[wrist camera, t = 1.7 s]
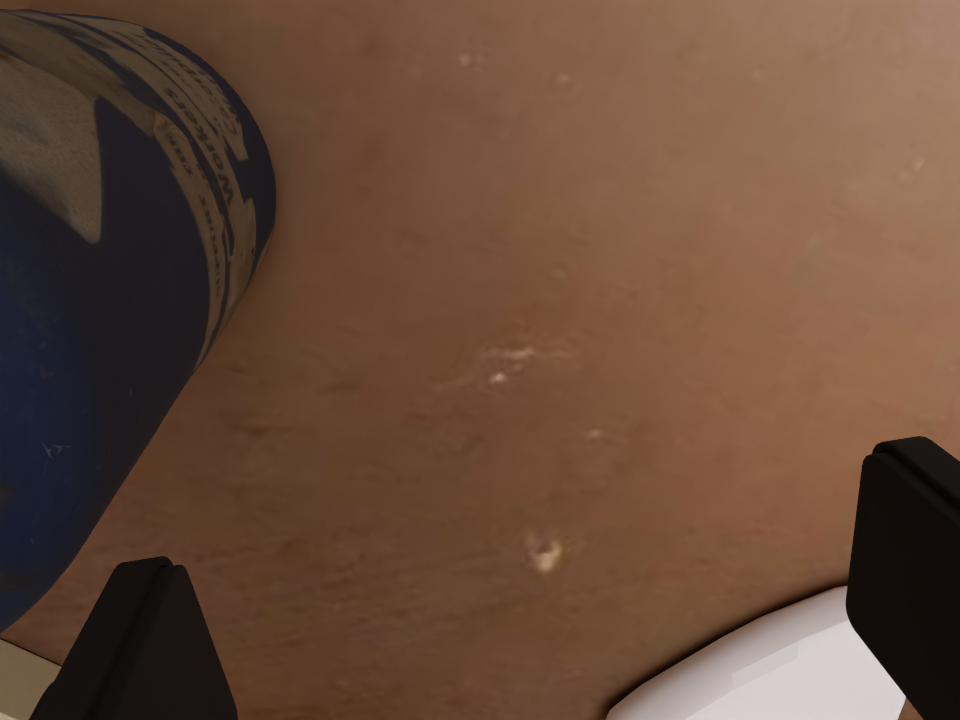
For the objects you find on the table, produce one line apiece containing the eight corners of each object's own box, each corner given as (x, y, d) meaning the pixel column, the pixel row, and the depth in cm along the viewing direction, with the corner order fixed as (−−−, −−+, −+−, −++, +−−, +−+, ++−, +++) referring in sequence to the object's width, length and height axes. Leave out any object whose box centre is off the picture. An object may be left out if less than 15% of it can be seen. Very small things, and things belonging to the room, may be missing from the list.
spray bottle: (582, 698, 35) (1053, 438, 32) (677, 811, 39) (1100, 591, 36) (598, 752, 32) (1114, 474, 29) (698, 867, 37) (1157, 635, 34)
